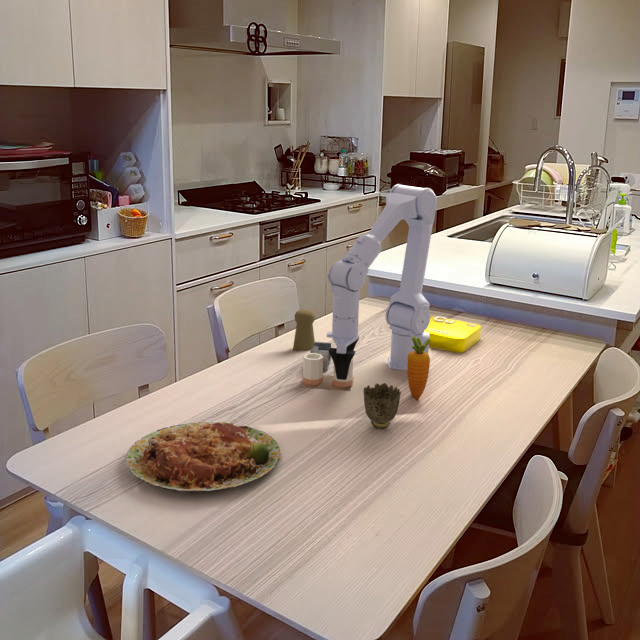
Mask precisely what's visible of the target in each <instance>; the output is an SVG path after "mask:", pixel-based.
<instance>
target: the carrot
mask: <svg viewBox="0 0 640 640" xmlns="http://www.w3.org/2000/svg"><path fill="white" fill-rule="evenodd" d="M412 341H413V343H414V345H415V346H412V348H413V349H414V350H415V351H413V352H410V353H409V354H408V363H407V370H406V371H407V373H406V374H407V381H408V387H409V392H410V394H411V397H413V398H414V400H415V401H419V400H420V398H421V396H422V395H423V393H424V391H425V388H426V386H427V383H428V382H427V381H428V377H429V373H430V362H431V359H430V358H431V357H430V354H429V352H428V353H426V352H424V350H425V348H426V347H427V345H428V344H429V343H430V341H431V340H430V339H427V340H426V342H425V343H424V344H423V345H422V343H421V340H420V338H417V339H416V337H415V336H414V337H412ZM417 341H418V342H417ZM418 343H419V345H418Z"/></svg>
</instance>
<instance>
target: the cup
mask: <svg viewBox="0 0 640 640" xmlns="http://www.w3.org/2000/svg"><path fill="white" fill-rule="evenodd" d="M362 392H363V402H364V410H365V414H366V416H367V418H368V419H369V420H371V422H370V423H371V425H372V427H373V428H374V429H377V430H385V429H388V428H389V427H390V424H391V421H392V420H394V419H395V418H396V415H397V413H398V409H399V405H400V399H401V394H402V391H401V390H400V388H398V387H397V386H395V387H394V385H393V384H392V385H390V386H388V384H387V383H382V384H379V383H378V382H376V383H375V384H374V387H371V385H370V384H368V385H367V386H366V387H363V391H362Z"/></svg>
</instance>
